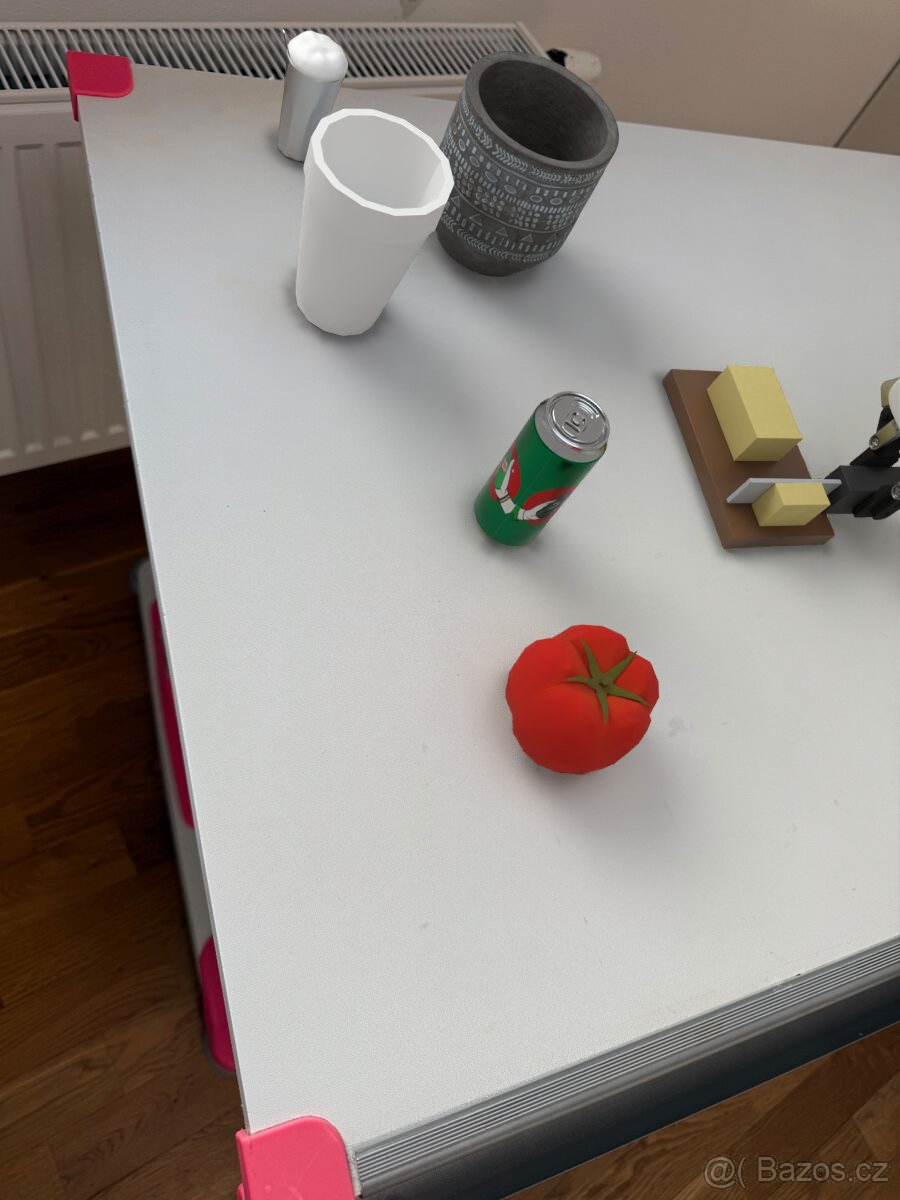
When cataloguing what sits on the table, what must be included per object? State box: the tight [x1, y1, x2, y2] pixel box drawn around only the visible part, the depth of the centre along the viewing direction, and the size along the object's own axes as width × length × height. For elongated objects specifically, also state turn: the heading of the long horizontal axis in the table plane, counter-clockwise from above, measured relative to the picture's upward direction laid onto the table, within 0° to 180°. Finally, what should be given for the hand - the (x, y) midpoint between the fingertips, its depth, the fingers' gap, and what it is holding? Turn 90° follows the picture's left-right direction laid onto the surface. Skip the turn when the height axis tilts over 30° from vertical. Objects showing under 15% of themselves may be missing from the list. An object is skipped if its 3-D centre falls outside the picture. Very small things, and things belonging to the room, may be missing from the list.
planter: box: [435, 50, 620, 278], centre depth 76 cm, size 12×12×13 cm
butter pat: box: [752, 483, 830, 526], centre depth 75 cm, size 4×2×3 cm, turn 103°
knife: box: [727, 464, 900, 515], centre depth 77 cm, size 17×2×4 cm, turn 103°
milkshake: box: [277, 29, 349, 162], centre depth 74 cm, size 5×5×10 cm
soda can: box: [473, 390, 611, 547], centre depth 64 cm, size 5×5×12 cm
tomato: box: [504, 623, 660, 776], centre depth 60 cm, size 9×9×8 cm
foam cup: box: [295, 108, 454, 337], centre depth 67 cm, size 10×9×13 cm
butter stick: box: [707, 364, 804, 461], centre depth 78 cm, size 4×7×3 cm, turn 13°
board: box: [661, 368, 836, 549], centre depth 79 cm, size 10×16×2 cm, turn 13°
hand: (860, 496), depth 79 cm, fingers closed on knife, 2 cm apart
